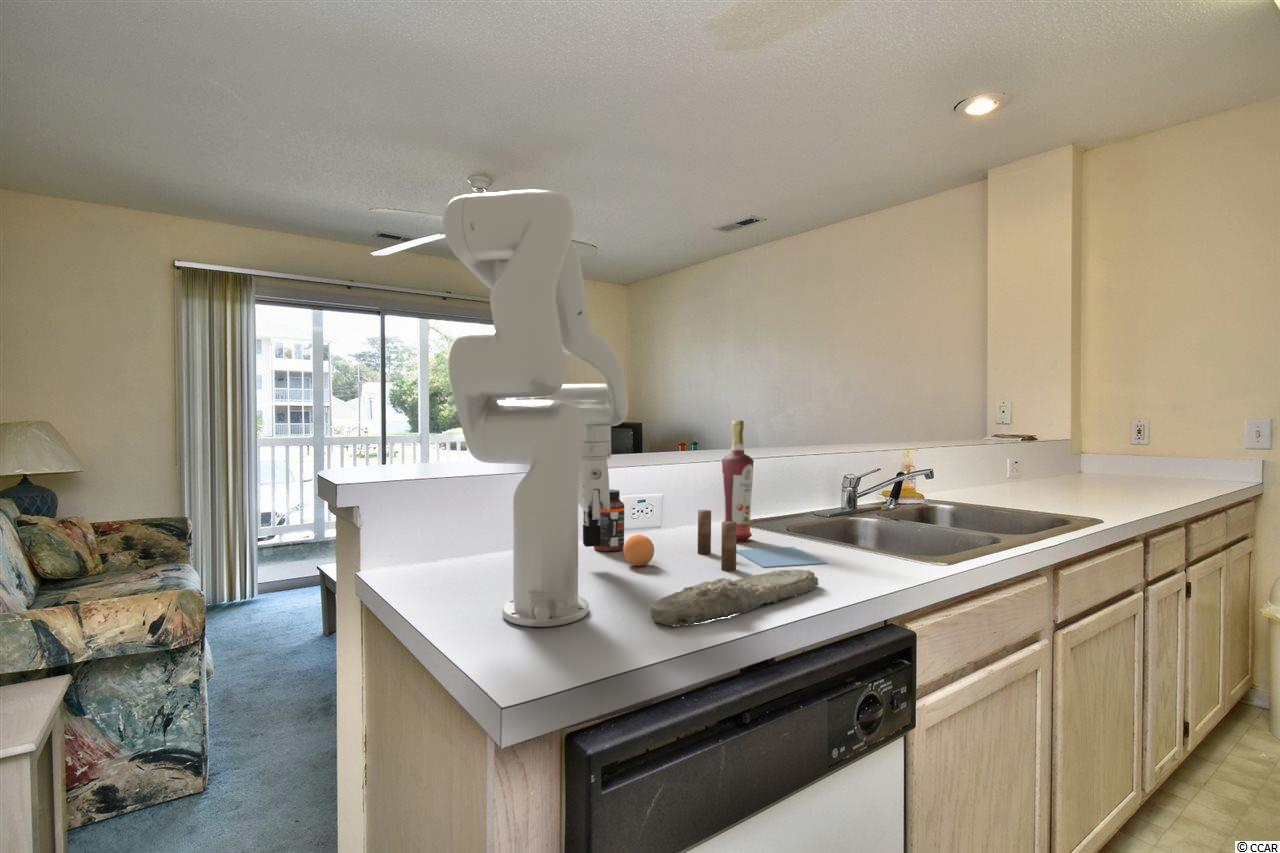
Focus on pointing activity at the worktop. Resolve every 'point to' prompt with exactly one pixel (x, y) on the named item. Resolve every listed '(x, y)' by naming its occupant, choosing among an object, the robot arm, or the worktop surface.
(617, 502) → the supplement bottle
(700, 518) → the post
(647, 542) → the ball
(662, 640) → the worktop surface
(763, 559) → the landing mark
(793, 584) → the long grey stone
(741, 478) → the liquor
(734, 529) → the post
